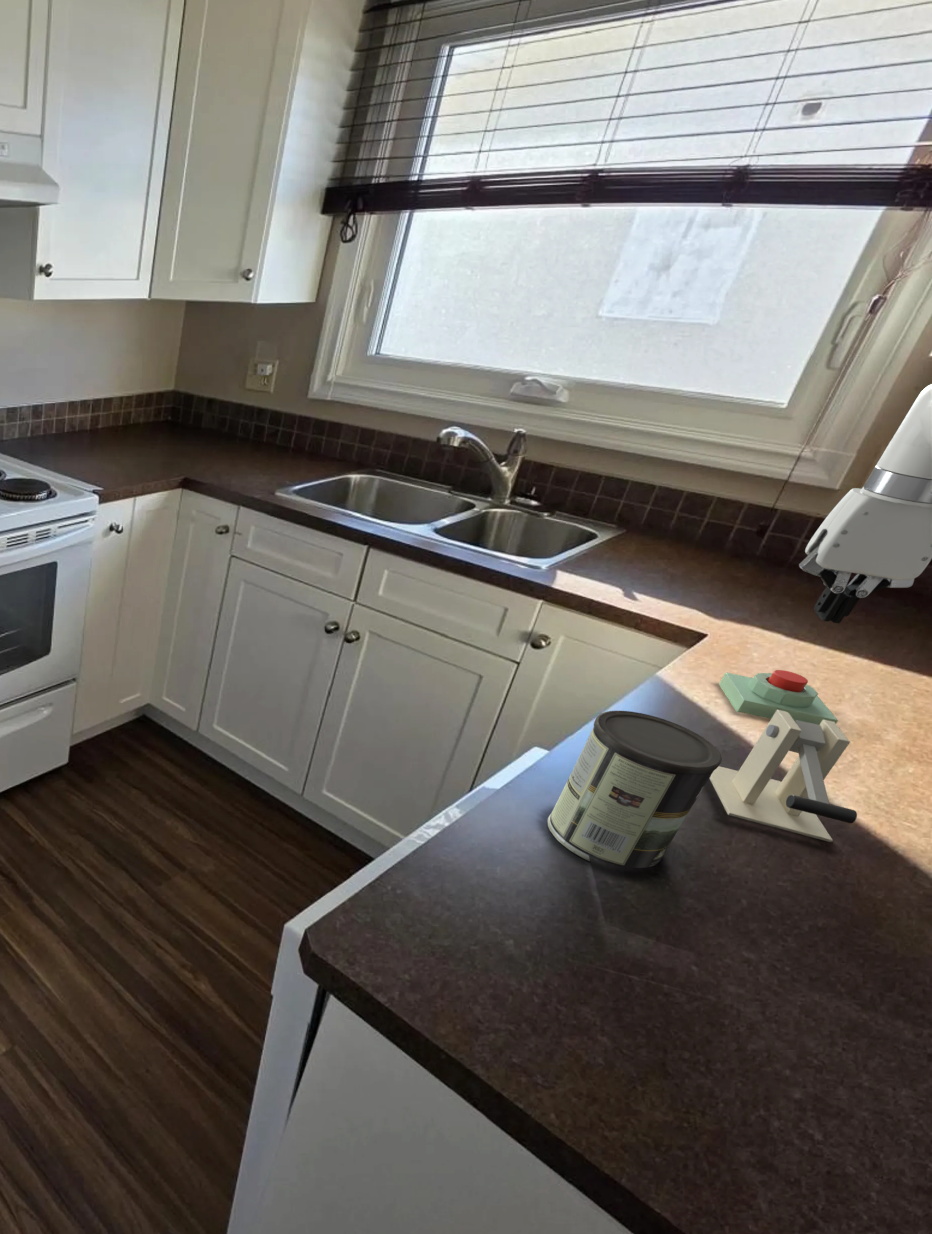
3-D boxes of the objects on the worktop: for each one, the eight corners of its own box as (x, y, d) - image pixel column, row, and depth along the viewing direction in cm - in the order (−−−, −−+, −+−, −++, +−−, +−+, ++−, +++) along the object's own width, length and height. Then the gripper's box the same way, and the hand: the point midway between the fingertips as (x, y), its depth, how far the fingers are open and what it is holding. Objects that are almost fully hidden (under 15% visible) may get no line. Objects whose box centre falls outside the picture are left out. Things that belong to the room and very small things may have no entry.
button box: (805, 702, 114) (819, 679, 112) (829, 733, 106) (845, 709, 105) (718, 684, 118) (731, 661, 116) (736, 713, 111) (750, 689, 109)
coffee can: (638, 823, 89) (696, 722, 82) (674, 886, 80) (742, 778, 74) (535, 800, 92) (583, 701, 85) (559, 858, 84) (614, 753, 77)
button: (796, 684, 111) (802, 673, 110) (805, 696, 108) (812, 685, 107) (763, 677, 112) (770, 667, 112) (772, 689, 110) (778, 678, 109)
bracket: (827, 848, 86) (890, 763, 81) (724, 820, 90) (777, 737, 84) (791, 792, 95) (845, 712, 89) (699, 769, 98) (745, 691, 93)
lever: (846, 828, 81) (861, 816, 79) (783, 812, 83) (797, 800, 81) (824, 741, 88) (837, 728, 86) (767, 728, 90) (779, 716, 88)
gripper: (977, 489, 96) (888, 620, 104) (818, 469, 101) (746, 595, 110) (1013, 506, 90) (915, 644, 99) (842, 485, 96) (764, 616, 104)
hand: (826, 618), depth 104 cm, fingers closed
